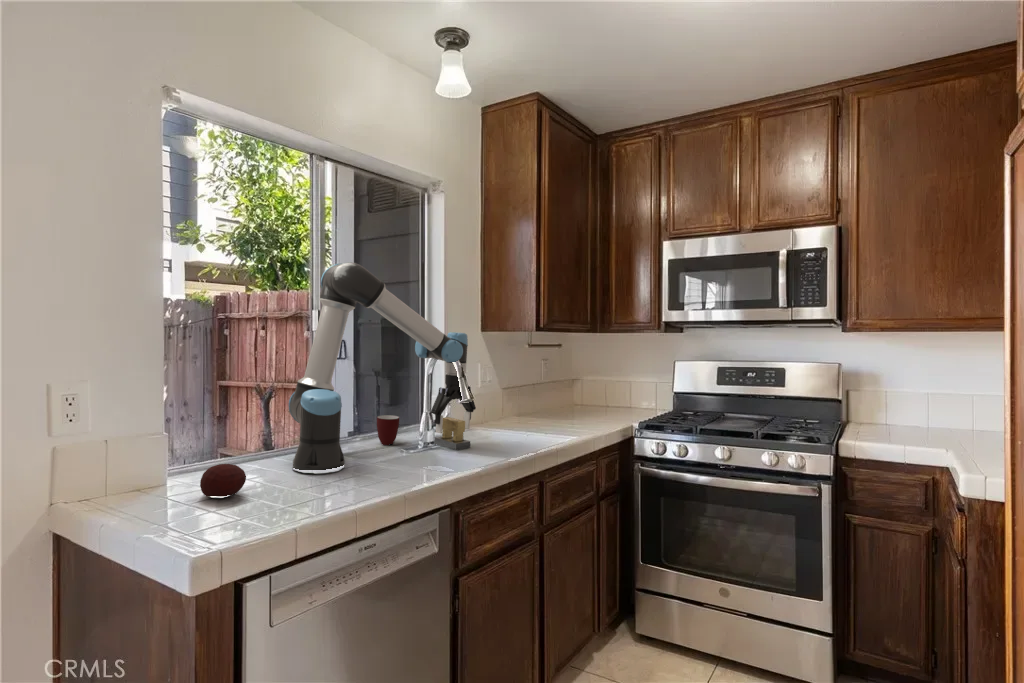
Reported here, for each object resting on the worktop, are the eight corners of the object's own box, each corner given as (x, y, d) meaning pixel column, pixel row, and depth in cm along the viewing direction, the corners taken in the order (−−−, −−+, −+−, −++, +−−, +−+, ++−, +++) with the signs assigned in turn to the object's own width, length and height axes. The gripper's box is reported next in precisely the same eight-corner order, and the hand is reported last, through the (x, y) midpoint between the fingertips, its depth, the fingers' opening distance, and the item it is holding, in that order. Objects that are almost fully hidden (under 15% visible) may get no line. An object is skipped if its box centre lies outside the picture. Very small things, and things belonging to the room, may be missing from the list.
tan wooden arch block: (456, 449, 212) (458, 422, 211) (440, 444, 218) (441, 417, 217) (463, 447, 214) (465, 421, 214) (447, 443, 221) (448, 417, 220)
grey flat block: (455, 450, 210) (456, 443, 209) (434, 444, 218) (434, 437, 217) (470, 447, 215) (470, 441, 215) (448, 441, 223) (448, 435, 223)
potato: (213, 488, 153) (214, 457, 152) (255, 491, 153) (256, 460, 152) (187, 502, 141) (188, 469, 141) (232, 505, 141) (234, 471, 141)
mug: (371, 440, 218) (372, 414, 217) (392, 439, 221) (394, 413, 221) (378, 447, 208) (380, 419, 208) (400, 445, 212) (402, 418, 211)
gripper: (436, 376, 203) (433, 436, 204) (486, 373, 222) (483, 428, 223) (422, 374, 208) (420, 432, 209) (473, 371, 227) (470, 425, 228)
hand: (452, 430), depth 216 cm, fingers open, 13 cm apart
